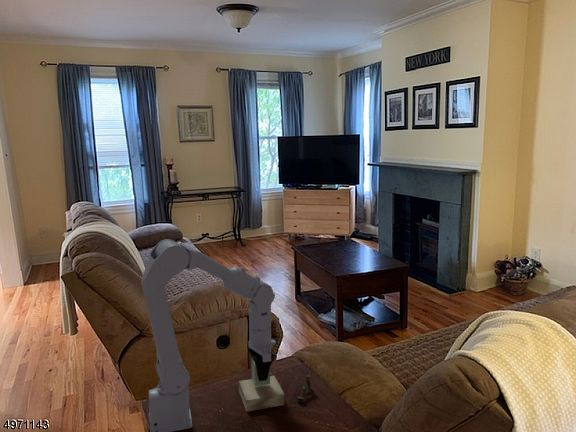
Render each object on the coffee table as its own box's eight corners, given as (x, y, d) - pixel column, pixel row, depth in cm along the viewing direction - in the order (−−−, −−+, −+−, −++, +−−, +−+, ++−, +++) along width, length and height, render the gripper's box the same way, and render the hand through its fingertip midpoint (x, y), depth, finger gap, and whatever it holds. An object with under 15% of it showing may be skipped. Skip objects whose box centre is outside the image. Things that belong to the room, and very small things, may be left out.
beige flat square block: (246, 411, 107) (246, 400, 107) (239, 391, 117) (238, 381, 116) (284, 404, 110) (284, 393, 110) (274, 385, 120) (274, 375, 119)
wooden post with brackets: (313, 384, 119) (311, 373, 117) (305, 409, 112) (303, 398, 110) (307, 383, 119) (305, 372, 117) (299, 408, 113) (296, 397, 111)
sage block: (255, 386, 111) (254, 364, 110) (251, 378, 114) (251, 357, 114) (270, 383, 112) (269, 362, 111) (266, 376, 115) (266, 355, 115)
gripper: (282, 335, 105) (283, 387, 107) (268, 315, 119) (268, 361, 121) (254, 338, 103) (255, 391, 105) (243, 318, 117) (244, 365, 119)
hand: (260, 375), depth 113 cm, fingers closed on sage block, 4 cm apart
